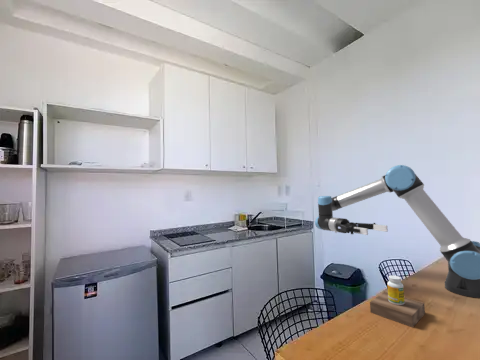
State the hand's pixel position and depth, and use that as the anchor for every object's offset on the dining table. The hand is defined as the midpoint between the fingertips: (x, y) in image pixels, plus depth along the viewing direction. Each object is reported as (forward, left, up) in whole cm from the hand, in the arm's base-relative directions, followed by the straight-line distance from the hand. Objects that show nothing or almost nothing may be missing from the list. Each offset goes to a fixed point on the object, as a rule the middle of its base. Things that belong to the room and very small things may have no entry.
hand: (377, 230), depth 108 cm
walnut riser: (+1, +15, -29) cm, 33 cm away
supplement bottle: (+1, +14, -26) cm, 30 cm away
